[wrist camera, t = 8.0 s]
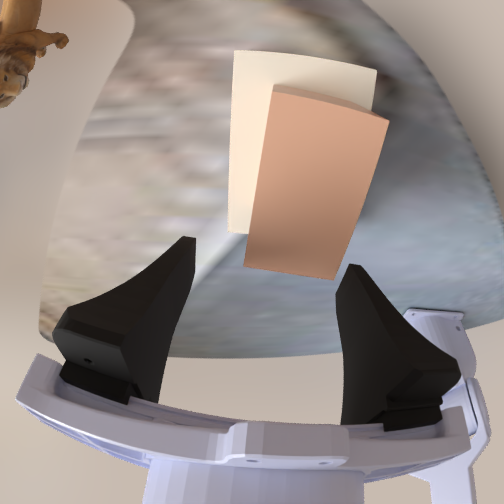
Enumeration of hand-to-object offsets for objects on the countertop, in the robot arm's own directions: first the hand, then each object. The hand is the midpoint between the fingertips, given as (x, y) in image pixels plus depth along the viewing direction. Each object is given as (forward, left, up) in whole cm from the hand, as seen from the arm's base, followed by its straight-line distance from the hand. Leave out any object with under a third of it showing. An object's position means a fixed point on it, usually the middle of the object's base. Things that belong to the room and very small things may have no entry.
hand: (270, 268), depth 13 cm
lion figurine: (+19, -14, -10) cm, 25 cm away
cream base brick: (-1, -4, -10) cm, 10 cm away
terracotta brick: (-1, -4, -6) cm, 7 cm away
